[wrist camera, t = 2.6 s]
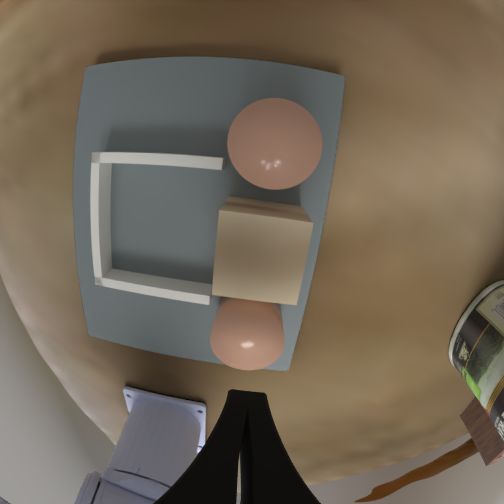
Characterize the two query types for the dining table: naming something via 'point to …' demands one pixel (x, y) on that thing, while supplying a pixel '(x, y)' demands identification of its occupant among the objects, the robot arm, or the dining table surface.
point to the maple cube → (261, 250)
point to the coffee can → (483, 351)
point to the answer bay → (102, 227)
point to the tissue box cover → (483, 432)
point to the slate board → (184, 187)
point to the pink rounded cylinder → (247, 333)
